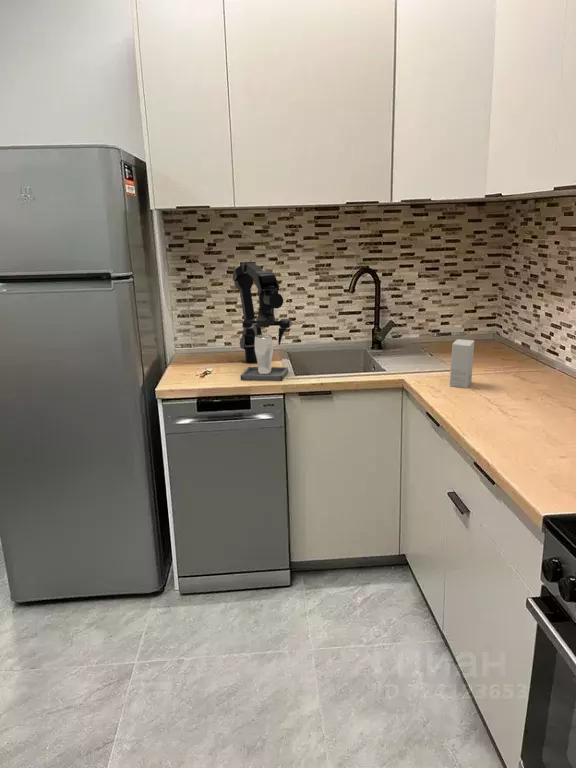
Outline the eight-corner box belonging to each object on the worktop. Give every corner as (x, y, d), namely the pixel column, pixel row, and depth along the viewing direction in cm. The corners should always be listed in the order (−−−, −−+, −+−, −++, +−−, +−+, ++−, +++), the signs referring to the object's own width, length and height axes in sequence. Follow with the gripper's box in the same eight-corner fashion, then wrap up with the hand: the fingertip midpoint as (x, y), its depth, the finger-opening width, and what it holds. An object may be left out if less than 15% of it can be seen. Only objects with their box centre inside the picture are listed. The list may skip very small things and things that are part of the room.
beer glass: (271, 376, 225) (269, 338, 221) (253, 376, 226) (252, 337, 222) (275, 372, 231) (274, 334, 227) (258, 371, 233) (256, 334, 229)
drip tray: (249, 371, 237) (248, 366, 236) (288, 372, 234) (288, 367, 233) (240, 380, 224) (240, 375, 224) (282, 381, 221) (281, 375, 221)
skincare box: (454, 380, 215) (456, 338, 210) (473, 382, 212) (475, 340, 207) (449, 386, 207) (451, 343, 203) (468, 388, 204) (470, 344, 200)
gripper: (237, 308, 223) (239, 348, 227) (286, 308, 220) (287, 349, 224) (245, 304, 234) (247, 342, 238) (291, 304, 230) (292, 343, 234)
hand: (267, 344), depth 233 cm, fingers open, 9 cm apart
